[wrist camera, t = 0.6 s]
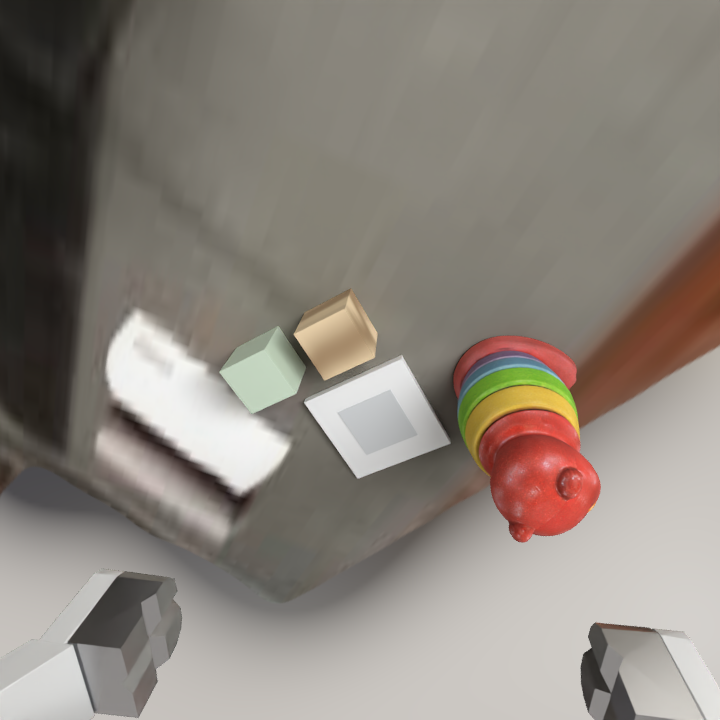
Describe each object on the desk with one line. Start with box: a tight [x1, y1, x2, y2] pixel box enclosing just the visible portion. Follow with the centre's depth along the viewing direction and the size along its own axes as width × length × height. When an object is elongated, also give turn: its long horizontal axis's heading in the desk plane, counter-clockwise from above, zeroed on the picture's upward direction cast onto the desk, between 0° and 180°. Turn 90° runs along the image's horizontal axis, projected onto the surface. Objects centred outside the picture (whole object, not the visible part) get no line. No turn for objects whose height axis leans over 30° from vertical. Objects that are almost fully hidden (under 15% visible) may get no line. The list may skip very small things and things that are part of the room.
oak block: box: [294, 289, 378, 380], centre depth 42 cm, size 5×5×5 cm
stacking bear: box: [453, 336, 601, 542], centre depth 37 cm, size 11×10×18 cm
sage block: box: [220, 326, 306, 414], centre depth 44 cm, size 5×5×5 cm
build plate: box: [304, 355, 451, 478], centre depth 48 cm, size 11×11×1 cm
